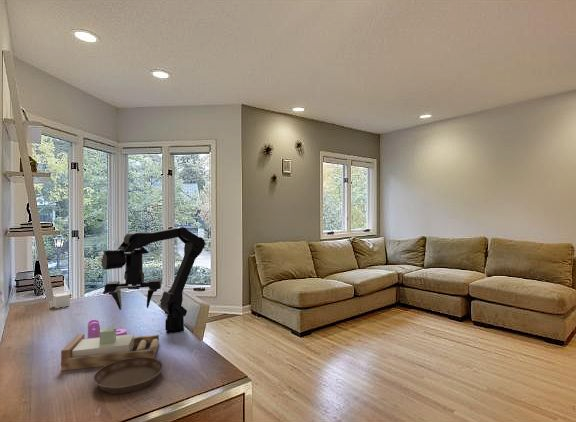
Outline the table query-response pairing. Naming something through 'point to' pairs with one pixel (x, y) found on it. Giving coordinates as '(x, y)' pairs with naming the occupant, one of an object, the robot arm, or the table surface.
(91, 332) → the bracket
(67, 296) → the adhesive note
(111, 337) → the block
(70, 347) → the roller track
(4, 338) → the table surface
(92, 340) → the slab
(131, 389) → the plant saucer
